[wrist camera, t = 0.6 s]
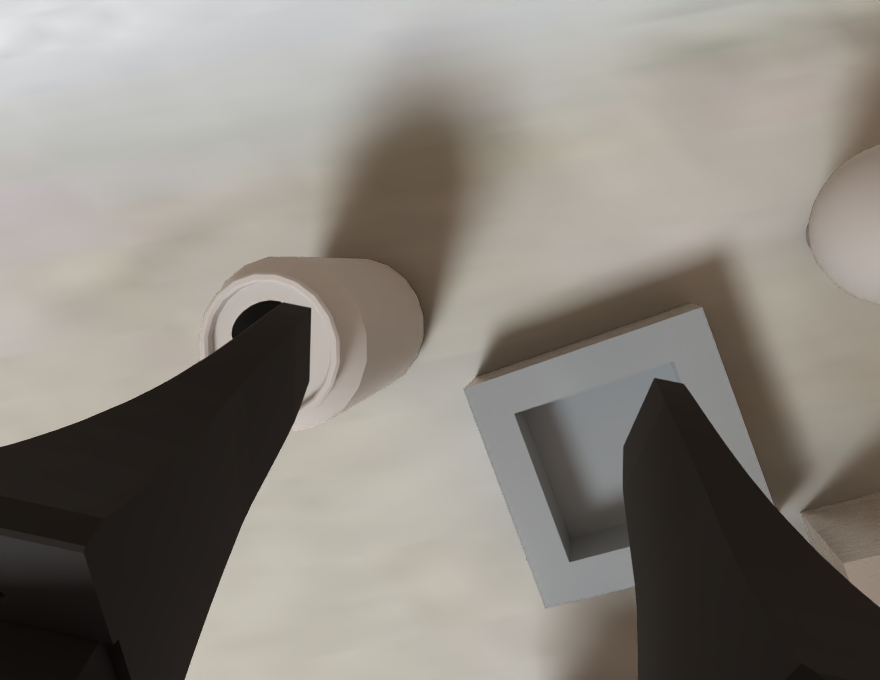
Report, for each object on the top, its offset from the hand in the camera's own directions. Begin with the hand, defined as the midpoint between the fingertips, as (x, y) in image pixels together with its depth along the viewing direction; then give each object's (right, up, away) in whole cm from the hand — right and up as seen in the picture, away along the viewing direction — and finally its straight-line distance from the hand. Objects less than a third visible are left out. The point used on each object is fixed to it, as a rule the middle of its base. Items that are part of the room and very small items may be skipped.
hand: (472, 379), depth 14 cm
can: (-5, +2, +24) cm, 25 cm away
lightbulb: (+18, +6, +18) cm, 27 cm away
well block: (+9, -5, +22) cm, 24 cm away
